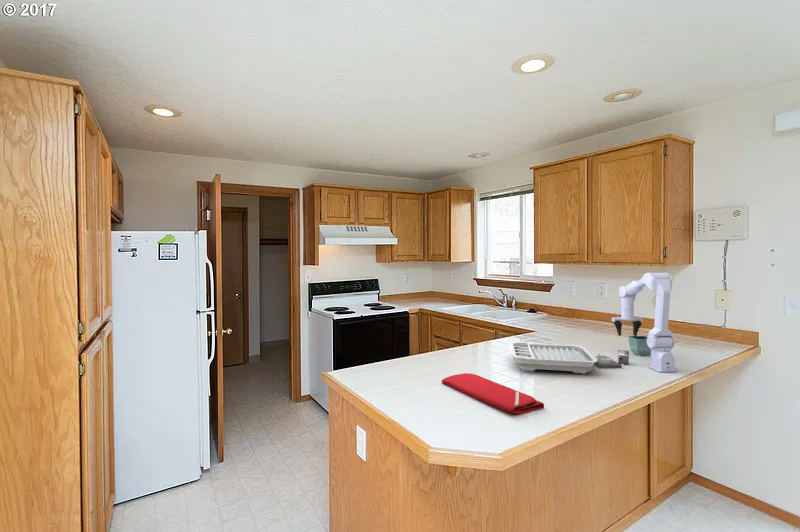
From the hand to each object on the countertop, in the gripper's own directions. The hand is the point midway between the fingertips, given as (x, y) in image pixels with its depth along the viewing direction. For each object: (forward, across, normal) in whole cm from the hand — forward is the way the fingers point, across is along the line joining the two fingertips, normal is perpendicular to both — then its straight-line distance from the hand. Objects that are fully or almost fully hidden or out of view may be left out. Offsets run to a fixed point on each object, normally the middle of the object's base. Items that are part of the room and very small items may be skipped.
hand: (627, 335), depth 216 cm
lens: (+10, +10, +18) cm, 23 cm away
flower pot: (+10, -7, 0) cm, 12 cm away
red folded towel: (+11, +78, +66) cm, 103 cm away
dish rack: (+10, +45, +25) cm, 52 cm away
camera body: (+10, +19, +20) cm, 30 cm away
